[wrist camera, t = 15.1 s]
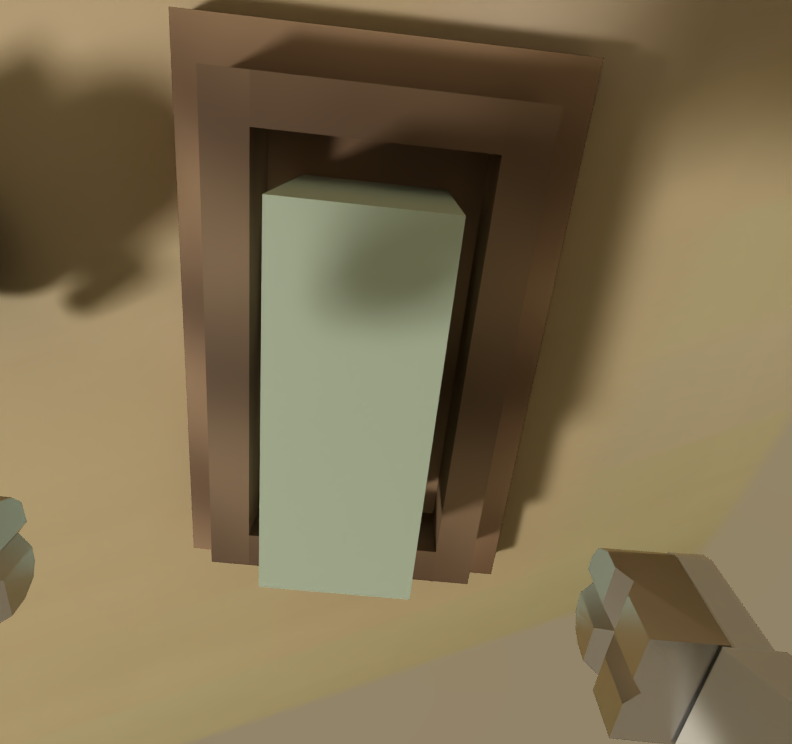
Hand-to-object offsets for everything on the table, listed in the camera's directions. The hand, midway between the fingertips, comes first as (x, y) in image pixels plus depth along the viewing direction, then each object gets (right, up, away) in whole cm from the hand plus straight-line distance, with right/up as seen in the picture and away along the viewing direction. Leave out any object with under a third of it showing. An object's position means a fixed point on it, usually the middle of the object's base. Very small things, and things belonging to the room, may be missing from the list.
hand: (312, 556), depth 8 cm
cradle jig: (0, +4, +10) cm, 11 cm away
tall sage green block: (0, +3, +9) cm, 10 cm away
